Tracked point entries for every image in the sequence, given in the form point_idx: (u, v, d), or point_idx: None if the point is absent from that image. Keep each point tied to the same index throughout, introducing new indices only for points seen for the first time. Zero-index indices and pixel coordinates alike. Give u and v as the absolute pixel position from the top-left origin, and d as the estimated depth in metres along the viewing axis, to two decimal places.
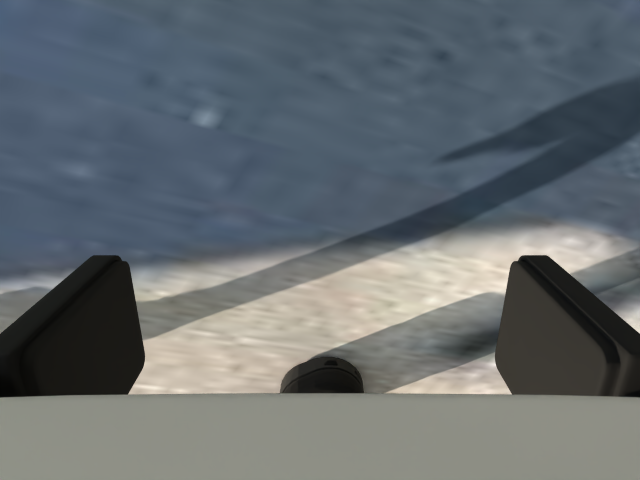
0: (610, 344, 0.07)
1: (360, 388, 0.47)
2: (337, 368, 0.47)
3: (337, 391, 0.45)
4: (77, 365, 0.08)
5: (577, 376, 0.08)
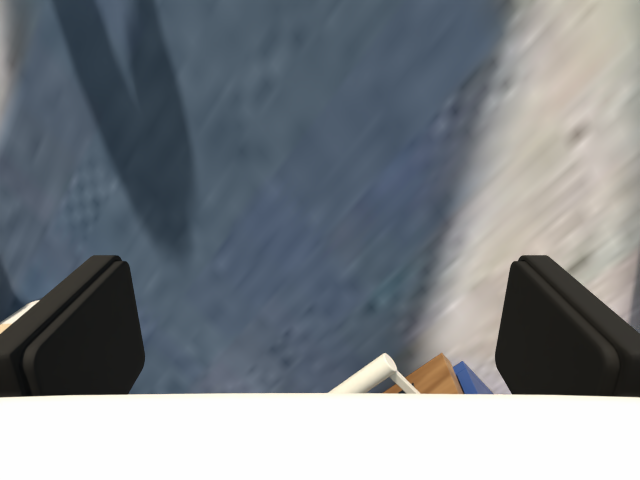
0: (610, 344, 0.07)
1: None
2: None
3: None
4: (77, 365, 0.08)
5: (577, 376, 0.08)
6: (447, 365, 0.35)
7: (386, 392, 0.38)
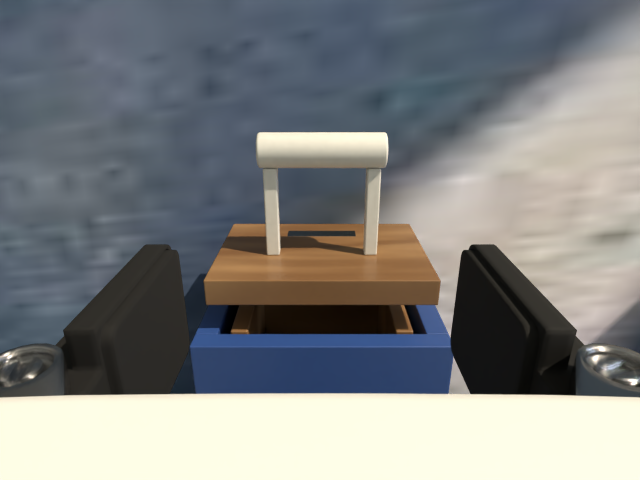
0: (532, 322, 0.08)
1: None
2: None
3: None
4: (142, 344, 0.09)
5: (507, 353, 0.08)
6: None
7: (306, 225, 0.25)
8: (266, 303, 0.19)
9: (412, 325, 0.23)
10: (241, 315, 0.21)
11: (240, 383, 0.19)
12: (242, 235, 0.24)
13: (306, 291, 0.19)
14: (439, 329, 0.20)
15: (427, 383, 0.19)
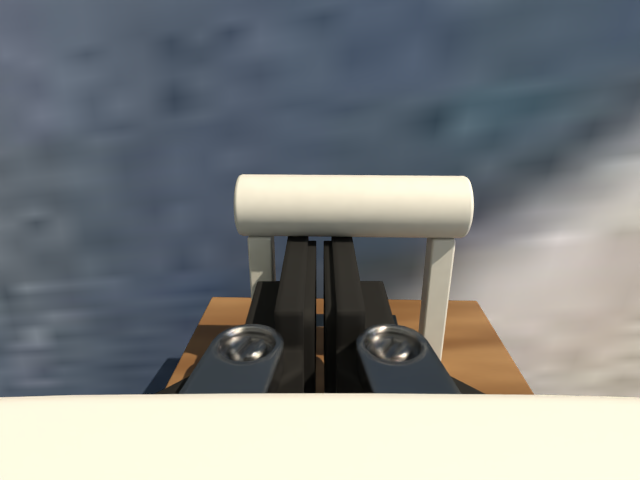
0: (334, 305, 0.08)
1: None
2: None
3: None
4: None
5: None
6: None
7: (320, 301, 0.16)
8: None
9: None
10: None
11: None
12: (221, 322, 0.15)
13: None
14: None
15: None
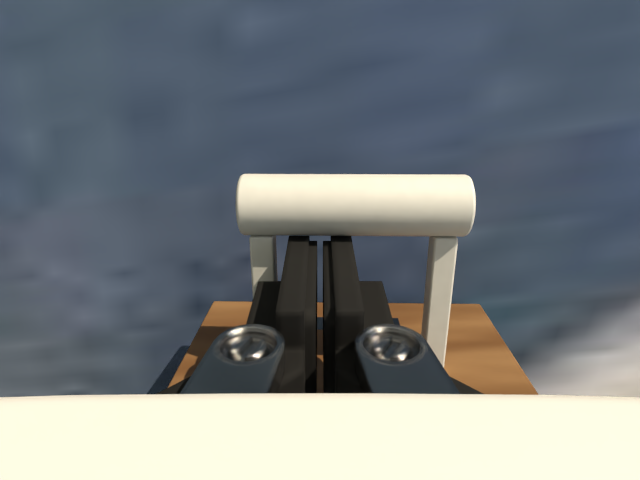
0: (334, 305, 0.08)
1: None
2: None
3: None
4: None
5: None
6: None
7: (322, 305, 0.16)
8: None
9: None
10: None
11: None
12: (222, 325, 0.15)
13: None
14: None
15: None
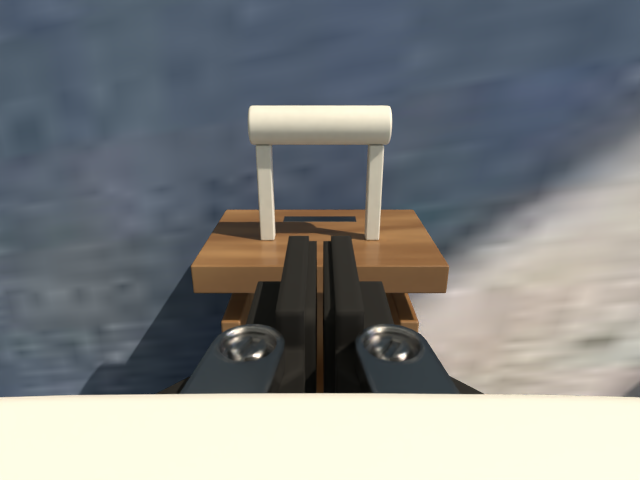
0: (334, 305, 0.08)
1: None
2: None
3: None
4: None
5: None
6: None
7: (303, 210, 0.23)
8: None
9: None
10: (233, 305, 0.20)
11: None
12: (234, 220, 0.22)
13: None
14: None
15: None
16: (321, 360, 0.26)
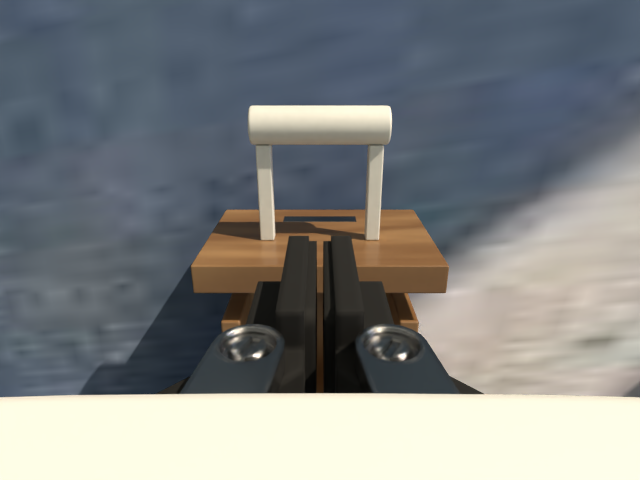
0: (334, 305, 0.08)
1: None
2: None
3: None
4: None
5: None
6: None
7: (303, 210, 0.23)
8: None
9: None
10: (233, 305, 0.20)
11: None
12: (234, 220, 0.22)
13: None
14: None
15: None
16: (321, 360, 0.26)
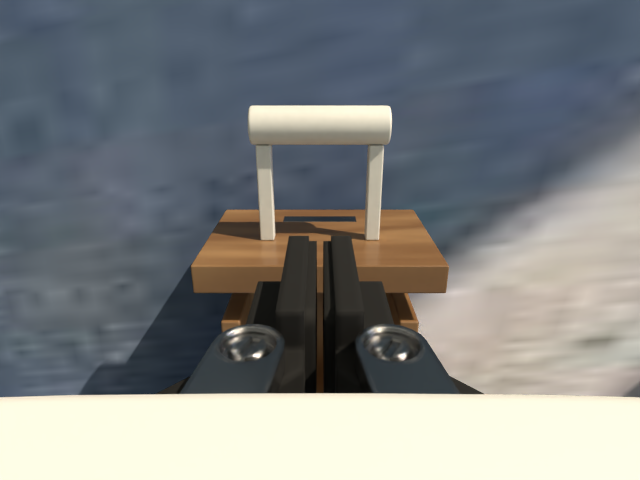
0: (334, 305, 0.08)
1: None
2: None
3: None
4: None
5: None
6: None
7: (303, 210, 0.23)
8: None
9: None
10: (233, 305, 0.20)
11: None
12: (234, 220, 0.22)
13: None
14: None
15: None
16: (321, 360, 0.26)
